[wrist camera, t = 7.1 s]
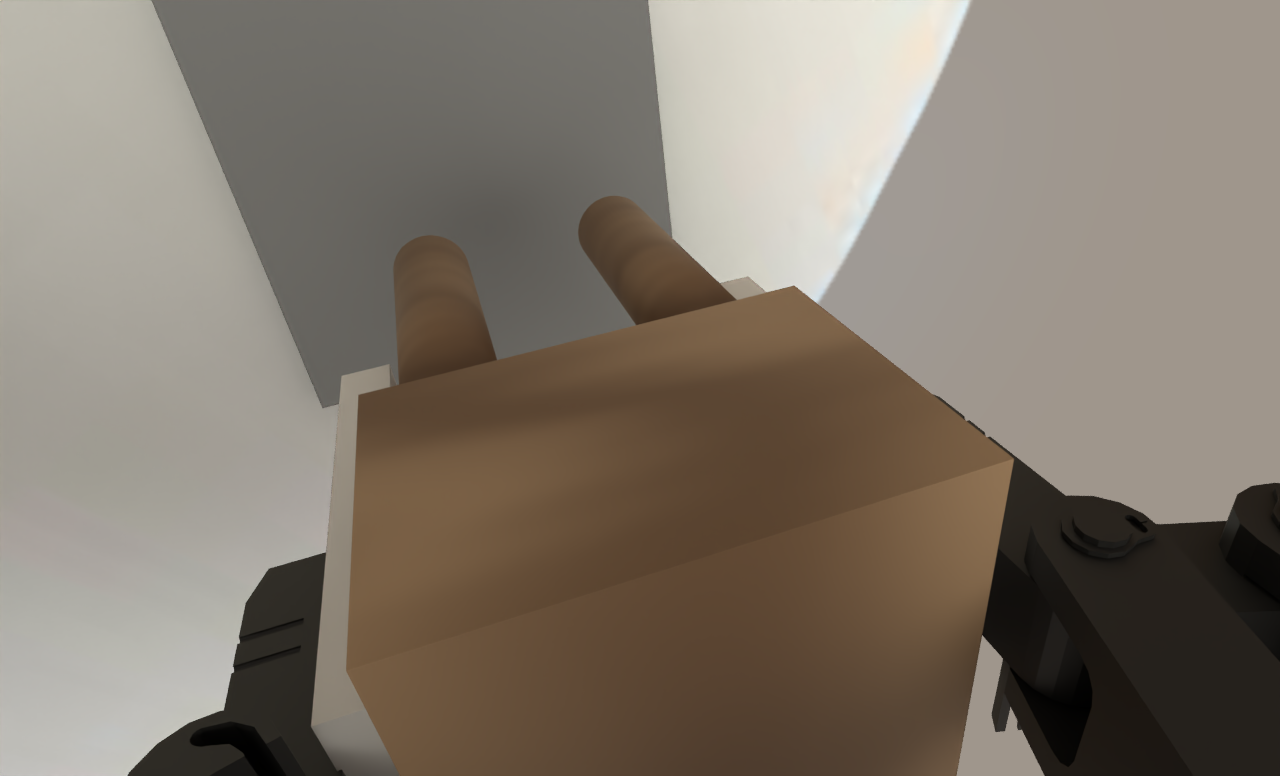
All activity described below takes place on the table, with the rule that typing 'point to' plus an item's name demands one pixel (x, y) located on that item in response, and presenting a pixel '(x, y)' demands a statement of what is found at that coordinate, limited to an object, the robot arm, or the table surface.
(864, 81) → the table surface
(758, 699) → the stool
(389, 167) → the mat
